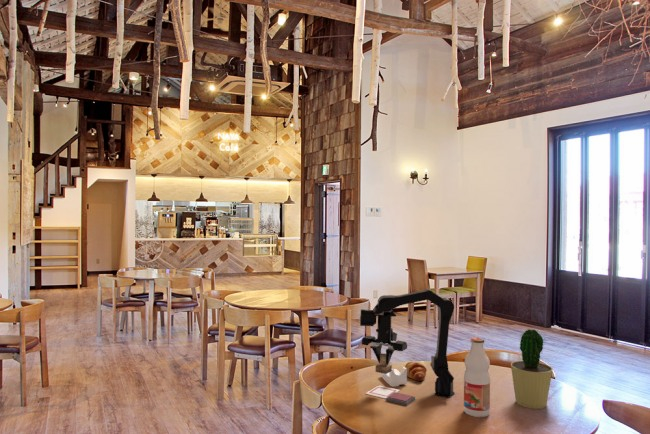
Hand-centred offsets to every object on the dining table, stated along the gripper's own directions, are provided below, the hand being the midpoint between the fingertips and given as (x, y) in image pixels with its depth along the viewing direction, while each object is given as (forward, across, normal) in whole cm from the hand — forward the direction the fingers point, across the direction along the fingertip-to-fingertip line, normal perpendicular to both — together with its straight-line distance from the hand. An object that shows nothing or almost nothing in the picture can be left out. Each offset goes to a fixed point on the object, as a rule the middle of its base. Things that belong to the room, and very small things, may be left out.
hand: (383, 363), depth 209 cm
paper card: (+12, 0, 0) cm, 12 cm away
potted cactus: (+12, -54, -23) cm, 60 cm away
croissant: (+12, -2, -29) cm, 32 cm away
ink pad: (+12, -10, +4) cm, 16 cm away
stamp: (+3, 0, 0) cm, 3 cm away
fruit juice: (+12, -39, -1) cm, 40 cm away
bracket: (+13, +3, -16) cm, 21 cm away
